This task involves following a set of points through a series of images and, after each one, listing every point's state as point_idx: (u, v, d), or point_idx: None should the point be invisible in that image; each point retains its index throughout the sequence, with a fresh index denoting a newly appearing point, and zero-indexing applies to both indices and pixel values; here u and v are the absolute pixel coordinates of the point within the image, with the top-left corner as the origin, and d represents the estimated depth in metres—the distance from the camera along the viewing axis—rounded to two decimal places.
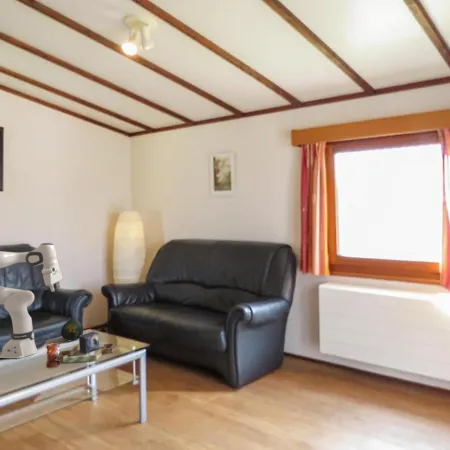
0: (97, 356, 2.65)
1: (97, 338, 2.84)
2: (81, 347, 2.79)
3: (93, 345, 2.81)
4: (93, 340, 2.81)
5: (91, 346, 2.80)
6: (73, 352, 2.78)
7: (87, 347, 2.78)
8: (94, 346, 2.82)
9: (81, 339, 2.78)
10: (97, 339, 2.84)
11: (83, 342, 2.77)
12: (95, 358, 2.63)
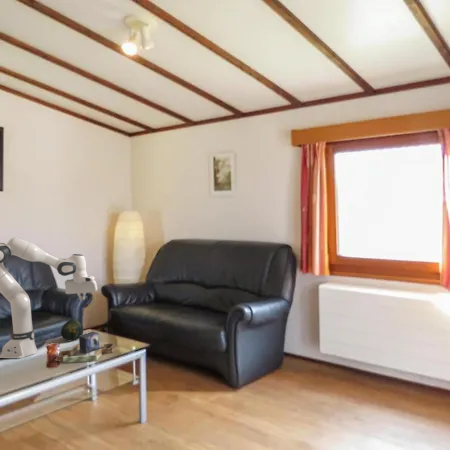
0: (97, 356, 2.65)
1: (97, 338, 2.84)
2: (81, 347, 2.79)
3: (93, 345, 2.81)
4: (93, 340, 2.81)
5: (91, 346, 2.80)
6: (73, 352, 2.78)
7: (87, 347, 2.78)
8: (94, 346, 2.82)
9: (81, 339, 2.78)
10: (97, 339, 2.84)
11: (83, 342, 2.77)
12: (95, 358, 2.63)
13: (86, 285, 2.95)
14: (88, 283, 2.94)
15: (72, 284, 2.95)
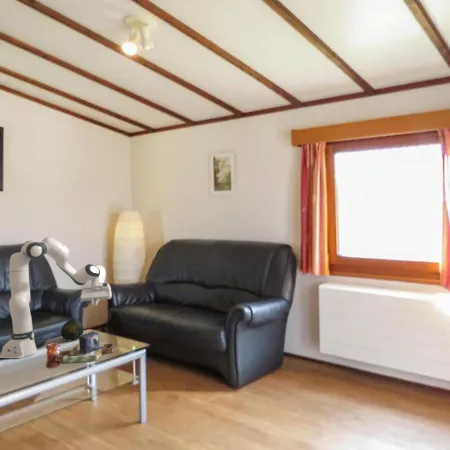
0: (97, 356, 2.65)
1: (97, 338, 2.84)
2: (81, 347, 2.79)
3: (93, 345, 2.81)
4: (93, 340, 2.81)
5: (91, 346, 2.80)
6: (73, 352, 2.78)
7: (87, 347, 2.78)
8: (94, 346, 2.82)
9: (81, 339, 2.78)
10: (97, 339, 2.84)
11: (83, 342, 2.77)
12: (95, 358, 2.63)
13: (102, 291, 3.05)
14: (104, 289, 3.05)
15: (89, 290, 3.05)
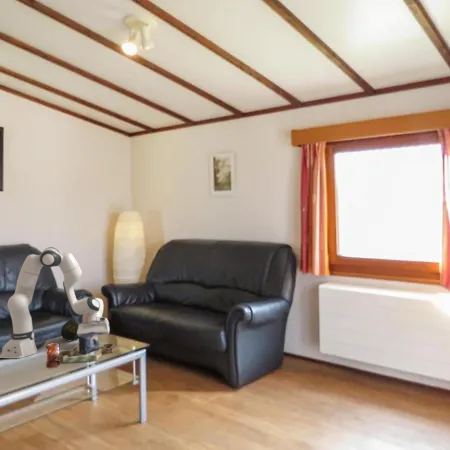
0: (97, 356, 2.65)
1: (97, 338, 2.83)
2: (81, 347, 2.78)
3: (93, 345, 2.80)
4: (93, 340, 2.80)
5: (91, 347, 2.79)
6: (73, 352, 2.78)
7: (86, 348, 2.77)
8: (94, 346, 2.81)
9: (80, 340, 2.78)
10: (97, 339, 2.83)
11: (83, 343, 2.76)
12: (95, 358, 2.63)
13: (99, 326, 2.93)
14: (101, 324, 2.93)
15: (85, 325, 2.94)
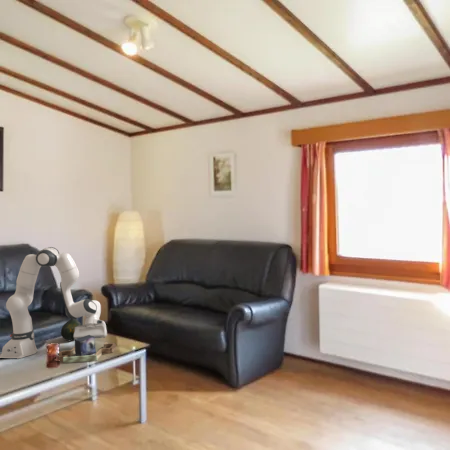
0: (97, 356, 2.65)
1: (93, 342, 2.76)
2: (76, 351, 2.72)
3: (89, 349, 2.73)
4: (89, 344, 2.73)
5: (87, 350, 2.72)
6: (73, 352, 2.78)
7: (82, 352, 2.70)
8: (90, 350, 2.74)
9: (76, 343, 2.71)
10: (93, 343, 2.76)
11: (79, 346, 2.70)
12: (95, 358, 2.63)
13: (96, 329, 2.86)
14: (99, 327, 2.86)
15: (82, 328, 2.87)
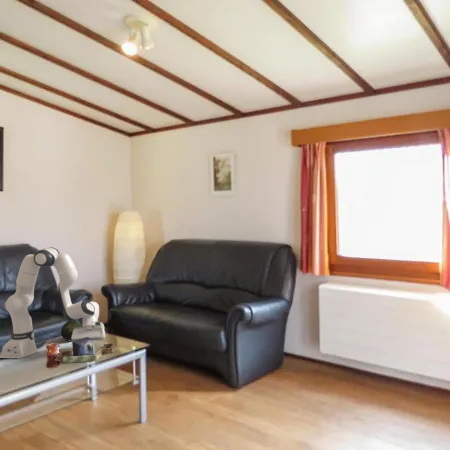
0: (97, 356, 2.65)
1: (91, 344, 2.72)
2: (74, 353, 2.68)
3: (87, 351, 2.69)
4: (87, 346, 2.69)
5: (85, 353, 2.68)
6: None
7: (80, 354, 2.66)
8: (88, 352, 2.70)
9: (74, 345, 2.67)
10: (91, 345, 2.72)
11: (76, 349, 2.66)
12: (95, 358, 2.63)
13: (94, 331, 2.82)
14: (97, 329, 2.82)
15: (80, 330, 2.83)
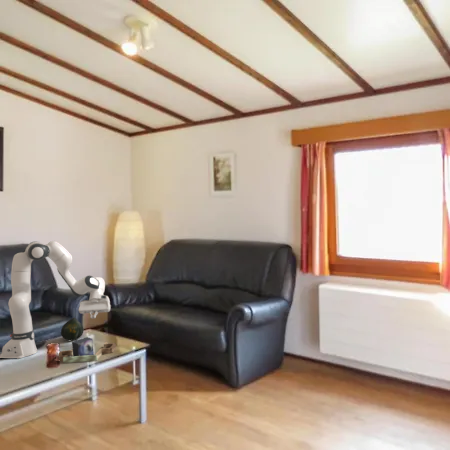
0: (97, 356, 2.65)
1: (91, 344, 2.72)
2: (74, 353, 2.68)
3: (87, 351, 2.69)
4: (87, 346, 2.69)
5: (85, 353, 2.68)
6: None
7: (80, 354, 2.66)
8: (88, 352, 2.70)
9: (74, 346, 2.67)
10: (91, 345, 2.72)
11: (76, 349, 2.66)
12: (95, 358, 2.63)
13: (100, 303, 2.99)
14: (103, 301, 3.00)
15: (87, 302, 3.00)
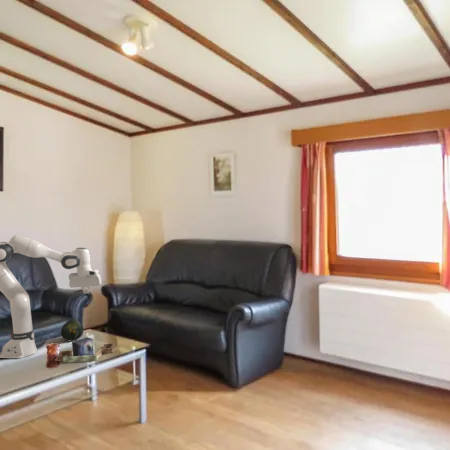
0: (97, 356, 2.65)
1: (91, 344, 2.72)
2: (74, 353, 2.68)
3: (87, 351, 2.69)
4: (87, 346, 2.69)
5: (85, 353, 2.68)
6: None
7: (80, 354, 2.66)
8: (88, 352, 2.70)
9: (74, 346, 2.67)
10: (91, 345, 2.72)
11: (76, 349, 2.66)
12: (95, 358, 2.63)
13: (90, 279, 2.95)
14: (92, 277, 2.94)
15: (76, 278, 2.94)
